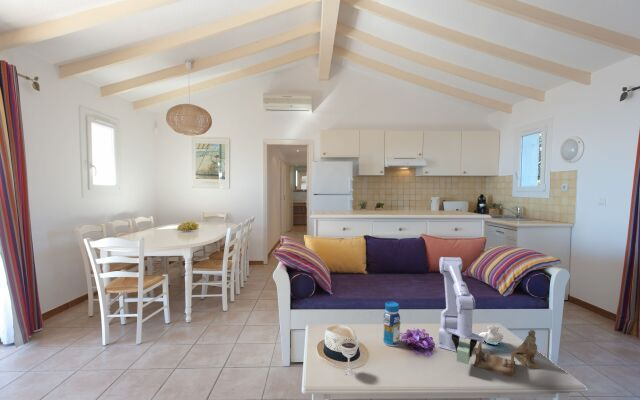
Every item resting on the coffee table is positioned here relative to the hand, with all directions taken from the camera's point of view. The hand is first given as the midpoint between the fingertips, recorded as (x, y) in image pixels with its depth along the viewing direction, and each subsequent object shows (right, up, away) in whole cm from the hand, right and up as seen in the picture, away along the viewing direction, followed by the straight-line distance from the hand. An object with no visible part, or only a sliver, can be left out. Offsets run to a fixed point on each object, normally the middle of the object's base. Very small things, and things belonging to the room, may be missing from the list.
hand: (464, 353), depth 131 cm
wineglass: (-51, -6, -3) cm, 51 cm away
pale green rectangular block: (0, -1, 0) cm, 1 cm away
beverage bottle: (-26, -6, +22) cm, 35 cm away
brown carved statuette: (+31, -7, +6) cm, 32 cm away
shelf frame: (+15, -6, +3) cm, 17 cm away
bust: (+24, -6, +21) cm, 33 cm away
